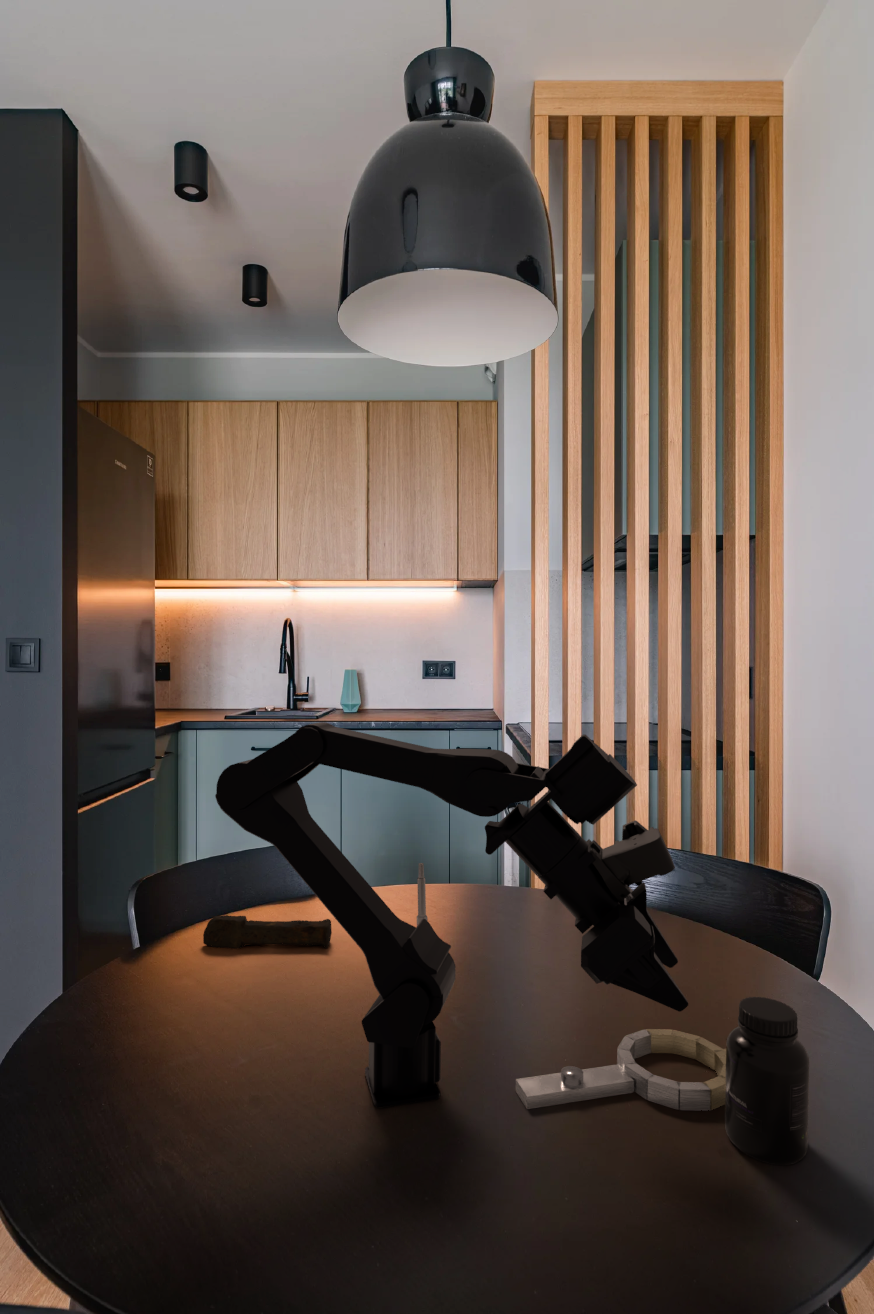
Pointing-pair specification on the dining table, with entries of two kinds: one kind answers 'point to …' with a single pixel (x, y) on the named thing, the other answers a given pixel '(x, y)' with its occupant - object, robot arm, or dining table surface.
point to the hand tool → (265, 932)
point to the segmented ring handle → (614, 1082)
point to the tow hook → (421, 895)
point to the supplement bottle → (767, 1083)
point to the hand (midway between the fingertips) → (679, 984)
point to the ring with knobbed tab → (694, 1057)
